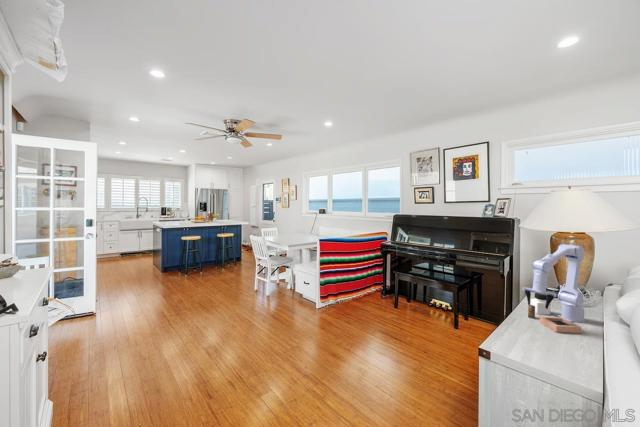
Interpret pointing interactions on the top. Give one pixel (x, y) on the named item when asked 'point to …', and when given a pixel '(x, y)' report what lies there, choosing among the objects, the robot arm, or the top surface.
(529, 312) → the wick peg
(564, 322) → the orange square tray
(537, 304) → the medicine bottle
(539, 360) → the top surface
